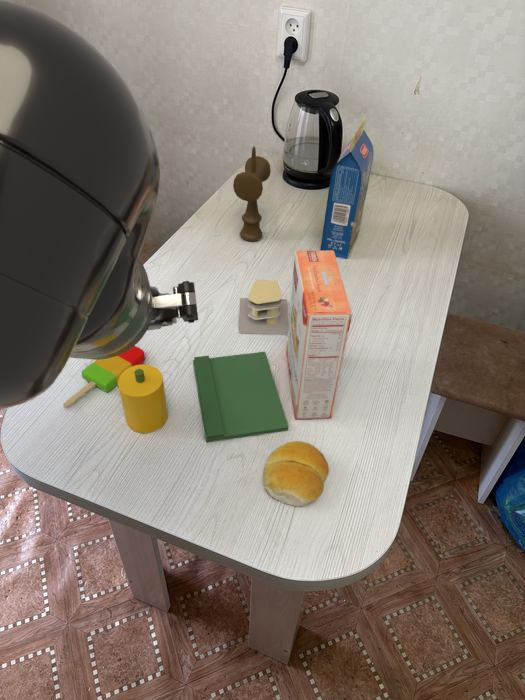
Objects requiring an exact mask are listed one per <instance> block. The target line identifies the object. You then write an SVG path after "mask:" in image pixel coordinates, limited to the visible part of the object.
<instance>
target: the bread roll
mask: <svg viewBox="0 0 525 700" xmlns="http://www.w3.org/2000/svg"><path fill="white" fill-rule="evenodd" d="M329 471H330V467H329V463H328V461H327V459H326V457H325V456H324V453H322V452H321V451H320V450H319V449H318V448H317V447H315V446H314V445H312V444H310V443H308V442H304V441H299V440H295V441H294V440H293V441H289V442H286V443H284V444H282V445H280V446H278V447H277V448H275V450H273V451H272V452H271V453H270V454H269V456H268V457H267V459H266V462H265V466H264V469H263V473H262V481H263V486H264V488H265V490H266V491H267V493H268V494H269V495H270V496H271V497H272V498H273V499H274V500H277V501H279V502H281V503H283V504H285V505H289V506H293V507H297V508H298V507H299V508H302V507H305V506H307V505H308V504H311V503H313V502H315V501H316V500H318V499H319V497H320V496H321V495H322V494H323V492H324V487H325V486H324V482H325V481H326V479H327V477H328V475H329Z"/></svg>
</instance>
